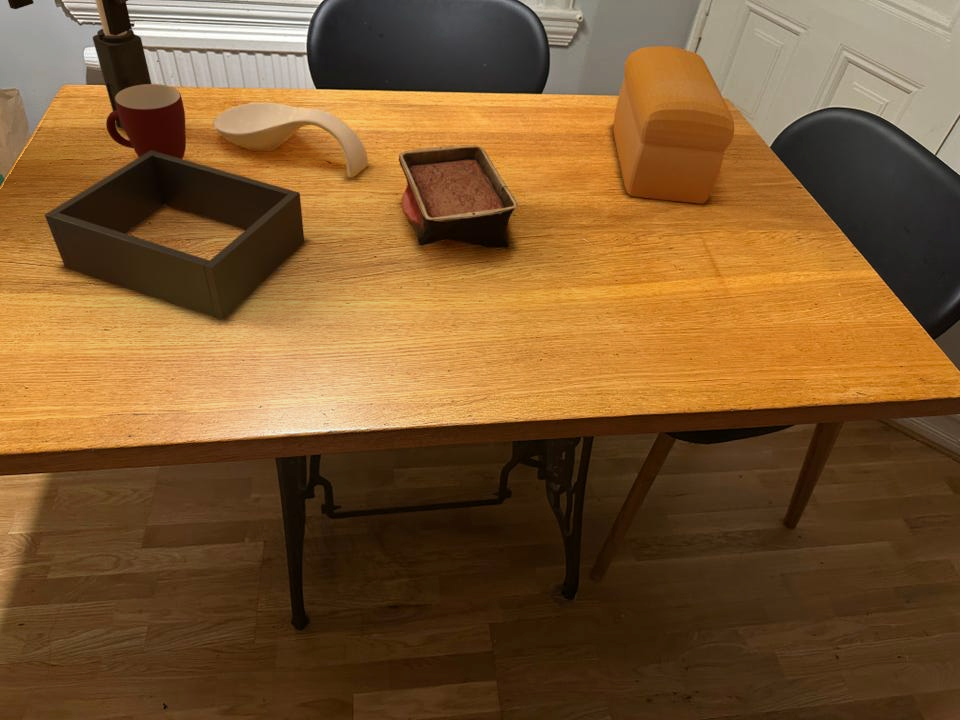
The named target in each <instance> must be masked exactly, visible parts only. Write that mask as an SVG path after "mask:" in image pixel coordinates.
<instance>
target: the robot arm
mask: <svg viewBox="0 0 960 720" xmlns="http://www.w3.org/2000/svg"><path fill="white" fill-rule="evenodd" d="M128 1H129V0H102V3H103V8H104V12H105V16H106V20H107V24H108V28H109V32H110V34H112V35H115V36H116V35H118V34H121V33H123V32H125V31H128V30H131V29H132V30H133V28H132V24H131V19H130V13H129V10H128V7H127V2H128ZM7 2H8V5H9V8H10V9H11V10H19V9H22V8H24V7H27V6H30V5H33V4H34V3H35V2H34V0H7Z"/></svg>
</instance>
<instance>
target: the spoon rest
mask: <svg viewBox="0 0 960 720" xmlns="http://www.w3.org/2000/svg"><path fill="white" fill-rule="evenodd" d="M305 126H315V127H318V128H320V129H322V130H324V131H325V132H327V133H328V134H330V135H331V136H332V137H333V138H334V139H335V140H336V141H337V143H338V144H339V145H340V147H341V149H342V152H343V155H344V159H345V164H346V166H345V167H346V175H347V176H348V177H349V178H354V177H355V176H357V175H358V174H359V173H361V172H362V171H363V170H364V169H365V168H367V167H368V164H369V160H368V159H369V158H368V153H367V151H366V148H365V146H364V144H363V142H362V141H361V139H360V137H359V136H358V135H357V133H356V132H355V131H354V129H352V128H351V127H350V126H349V125H348V124H347V123H346V122H344V121H343V120H342V119H340V118H339V117H337V116H336V115H334V114H333V113H331V112H328V111H326V110H322V109H317V108H306V107H298V106H292V105H288V104H283V103H278V102H263V101H262V102H250V103H244V104H239V105H235V106H233V107H231V108H228V109H226V110H224V111H222V112H221V113H219V114H217V116H216V117H215V119H214V120H213V127H214V128H215V130H216V131H217V132H218V134H219V135H220V136H221V137H222V138H223V139H225V140H227V141H228V142H229V143H231V144H233V145H236V146H238V147H241V148H244V149H246V150H249V151H251V152H269V151H273V150H275V149H278V148H279V147H281V146H282V145H283V144H284V143H285V142H287V141H288V140H289V139H290V138H291V137H292V136H293V135H295V134H296V132H297V131H299V130H300V129H302V128H303V127H305Z"/></svg>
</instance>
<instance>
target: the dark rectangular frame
mask: <svg viewBox="0 0 960 720" xmlns="http://www.w3.org/2000/svg"><path fill="white" fill-rule="evenodd" d="M163 206H168V207H171V208H175V209H178V210H182V211H185V212H188V213H191V214H195V215H198V216H201V217H205V218H209V219H211V220H214V221H218V222H222V223H225V224H228V225H230V226H231V225H232V226H234V227H237V228H241V229H245V230H244V231H243V232H242V233H240V234H239V235H238V236H237V237H235V239H234V240H232V241H231V242H230V243H229V244H228V245H227V246H225V247H224V248H222V249H221V250H220V251H219V252H218V253H217V254H215V255H214V256H213V257H212V258H211V259H210V260H209V259H207V258H203V257H200V256H197V255H194V254H191V253H187V252H185V251H181V250H179V249H175V248H172V247H168V246H165V245H162V244H160V243H156V242H153V241H150V240H146V239H143V238H141V237H137V236H134V235H130V234H127V231H129V230H131V229H132V228H133V227H135V226H137V225H138V224H139V223H141V222H142V221H143V220H145V219H146V218H148V217H149V216H150V215H152V214H153V213H155V212H156V211H158V210H159V209H161V208H162V207H163ZM44 217H45V220H46V223H47V225H48V228H49V231H50V233H51V235H52V236H51V237H52V238H53V241H54V243H55V246H56V248H57V251H58V254H59V256H60V259H61V261H62V263H63V264H62V265H63V266H64V268H65V269H69V270H72V271H75V272H77V273H81V274H84V275H85V276H86V275H87V276H90V277H92V278H96V279H99V280H101V281H105V282H107V283H111V284H114V285H116V286H120V287H122V288H126V289H128V290H132V291H134V292H138V293H141V294H143V295H147V296H149V297H151V298H152V297H153V298H156V299H159V300H162V301H165V302H167V303H170V304H174V305H176V306H179V307H183V308H185V309H189V310H192V311H195V312H197V313H200V314H204V315H207V316H209V317H212V318H216V319H219V320H222V321H224V320H225V319H226V318H227V317H228V316H229V315H230V314H231V313H233V311H235V309H237V307H239V305H241V304H242V303H243V302H244V301H245V300H246V299H247V298H248V297H249V296H251V294H252V293H253V292H254V291H255V290H256V289H257V288H259V286H260V285H261V284H262V283H263V282H265V281H266V280H267V279H268V278H269V277H270V276H271V275H272V274H273V273H274V272H275V271H276V270H277V269H278V268H279V267H280V266H281V265H282V264H283V263H284V262H285V261H287V259H289V257H290V256H292V255H293V254H294V253H295V252H296V251H297V250H298V249H299V248H300V247H301V246H302V245H303V244H304V243H305V234H304V223H303V212H302V201H301V193H300V192H299V191H297V190H292V189H288V188H286V187H281V186H278V185H275V184H271V183H267V182H265V181H260V180H256V179H254V178H251V177H246V176H243V175H239V174H236V173H232V172H228V171H226V170H222V169H219V168H215V167H213V166H207V165H204V164H200V163H197V162H194V161H191V160H187V159H184V158H183V159H180V158H177V157H173V156H170V155H166V154H163V153H159V152H156V151H152V150H150V151H149V152H147V153H145V154H144V155H142V156H141V157H137V158H136V159H134V160H133V161H130V162H129V163H127V164H126V165H124V166H122V167H121V168H119V169H117V170H115V171H114V172H113V173H111V174H109V175H107V176H105V177H104V178H103V179H101V180H99V181H98V182H96V183H94V184H92V185H90V186H89V187H88V188H86V189H84V190H82V191H81V192H79V193H77V194H76V195H74V196H73V197H71V198H70V199H68V200H66V201H65V202H63V203H61V204H60V205H58V206H56V207H54V208H53V209H51V210H49V211H48V212H46V213H44Z"/></svg>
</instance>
